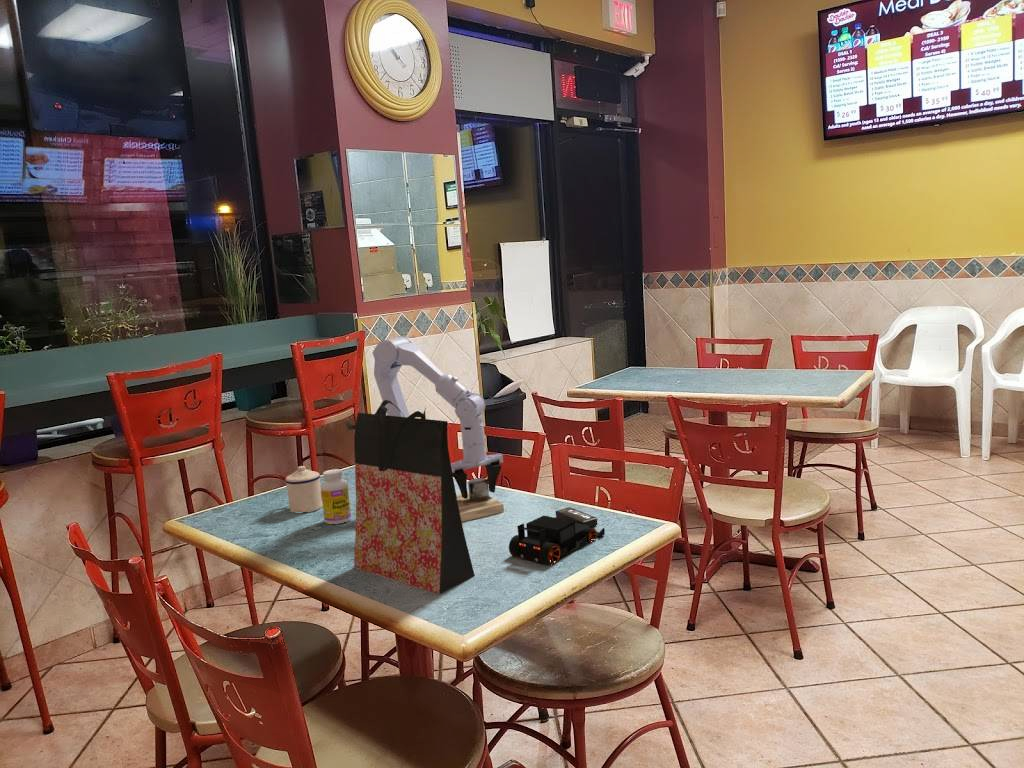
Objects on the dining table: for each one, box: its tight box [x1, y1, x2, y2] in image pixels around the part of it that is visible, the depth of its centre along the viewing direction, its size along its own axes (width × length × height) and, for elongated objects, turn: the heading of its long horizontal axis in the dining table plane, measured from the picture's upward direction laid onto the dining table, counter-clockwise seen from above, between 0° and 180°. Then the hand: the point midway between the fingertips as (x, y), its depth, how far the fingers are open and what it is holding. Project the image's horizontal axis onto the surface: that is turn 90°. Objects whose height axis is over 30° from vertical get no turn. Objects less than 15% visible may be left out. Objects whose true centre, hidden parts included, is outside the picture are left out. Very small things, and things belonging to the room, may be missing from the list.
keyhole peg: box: [467, 477, 490, 502], centre depth 194 cm, size 5×5×7 cm
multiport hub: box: [555, 507, 598, 528], centre depth 177 cm, size 4×11×2 cm, turn 31°
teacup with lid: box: [284, 465, 323, 513], centre depth 205 cm, size 12×9×12 cm
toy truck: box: [508, 515, 606, 566], centre depth 162 cm, size 10×20×7 cm, turn 138°
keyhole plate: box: [456, 490, 505, 523], centre depth 192 cm, size 16×15×2 cm
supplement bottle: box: [320, 468, 352, 525], centre depth 192 cm, size 7×7×13 cm
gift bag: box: [345, 400, 476, 595], centre depth 154 cm, size 29×14×35 cm, turn 49°
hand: (478, 494), depth 194 cm, fingers open, 7 cm apart
